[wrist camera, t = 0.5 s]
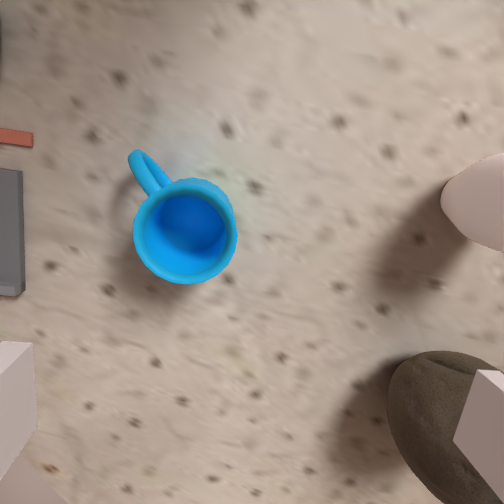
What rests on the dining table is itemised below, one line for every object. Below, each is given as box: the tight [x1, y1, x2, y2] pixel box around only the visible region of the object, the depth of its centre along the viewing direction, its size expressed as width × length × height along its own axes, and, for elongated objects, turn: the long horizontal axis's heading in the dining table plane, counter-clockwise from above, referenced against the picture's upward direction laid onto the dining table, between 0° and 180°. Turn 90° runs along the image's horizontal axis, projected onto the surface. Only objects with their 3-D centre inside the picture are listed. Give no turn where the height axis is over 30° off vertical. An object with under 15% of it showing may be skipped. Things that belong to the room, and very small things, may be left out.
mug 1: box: [128, 150, 238, 285], centre depth 30 cm, size 12×8×8 cm
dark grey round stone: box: [387, 351, 504, 504], centre depth 35 cm, size 14×14×15 cm
